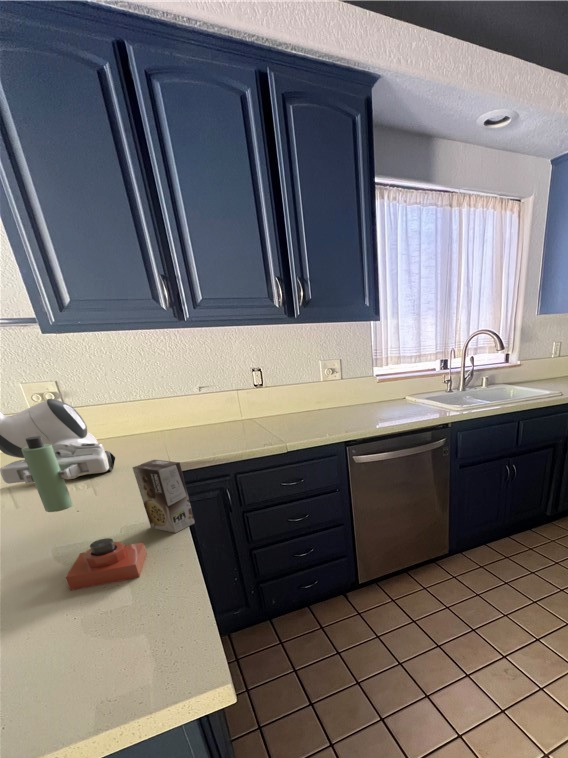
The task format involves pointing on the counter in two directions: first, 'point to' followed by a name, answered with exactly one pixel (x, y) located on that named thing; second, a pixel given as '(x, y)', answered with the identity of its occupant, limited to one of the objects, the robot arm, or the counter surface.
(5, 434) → the robot arm
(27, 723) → the counter surface
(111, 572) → the reddish-brown angled base
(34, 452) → the refill bottle
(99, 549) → the grey button cap
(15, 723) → the counter surface
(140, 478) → the coffee box
